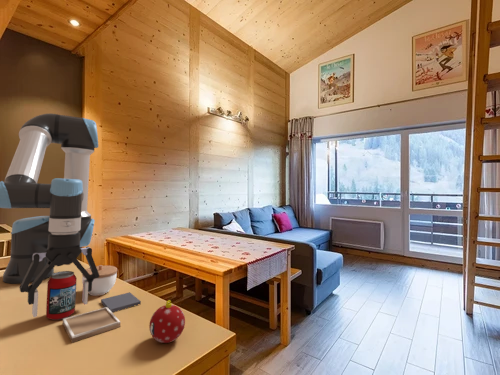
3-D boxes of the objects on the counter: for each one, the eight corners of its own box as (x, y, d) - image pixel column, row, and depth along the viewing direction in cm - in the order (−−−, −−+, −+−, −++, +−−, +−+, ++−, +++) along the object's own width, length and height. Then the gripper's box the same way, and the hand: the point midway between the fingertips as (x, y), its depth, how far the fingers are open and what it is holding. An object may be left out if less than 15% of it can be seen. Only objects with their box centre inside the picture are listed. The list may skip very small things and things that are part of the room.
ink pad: (100, 302, 84) (101, 299, 84) (129, 295, 90) (129, 292, 90) (110, 312, 78) (110, 309, 78) (140, 304, 84) (140, 301, 84)
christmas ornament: (190, 341, 66) (192, 302, 66) (158, 355, 60) (160, 312, 60) (173, 327, 72) (175, 291, 72) (142, 338, 66) (144, 299, 66)
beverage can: (52, 324, 70) (54, 280, 70) (41, 316, 74) (43, 274, 74) (79, 314, 76) (81, 273, 76) (68, 307, 79) (70, 268, 79)
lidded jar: (100, 300, 85) (102, 272, 85) (73, 296, 88) (74, 268, 88) (122, 288, 96) (124, 262, 96) (97, 284, 98) (99, 259, 98)
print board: (62, 324, 71) (62, 318, 71) (106, 311, 78) (107, 306, 78) (72, 342, 63) (72, 336, 63) (120, 326, 71) (120, 321, 71)
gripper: (10, 238, 64) (5, 328, 64) (113, 230, 80) (109, 301, 81) (8, 233, 69) (4, 316, 69) (105, 227, 86) (102, 293, 86)
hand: (61, 308), depth 75 cm, fingers open, 11 cm apart
